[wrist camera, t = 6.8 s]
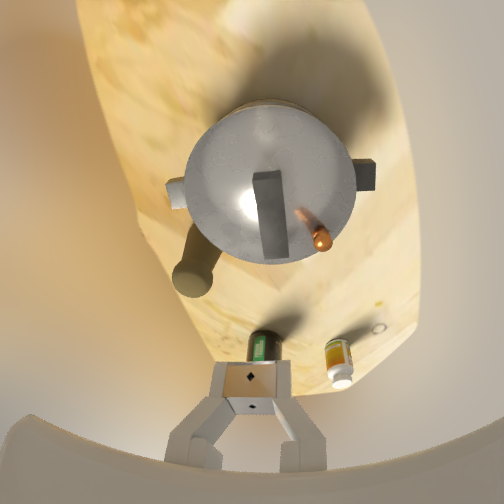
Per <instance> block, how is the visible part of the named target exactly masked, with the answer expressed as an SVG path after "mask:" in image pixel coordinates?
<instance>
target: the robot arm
mask: <svg viewBox="0 0 504 504" xmlns="http://www.w3.org/2000/svg"><path fill="white" fill-rule="evenodd" d="M254 414H255V415H257V414H258V415H276V416H277V418H278V419H279V421H280V423H281V424H282V426H283V427H284V429H285V431H286V432H287V434H288V435H289V437H290V438H291V440H292V441H287V442H284V443H282V444H281V457H280V473H253V472H235V471H223V470H221V469H222V459H223V455H222V454H221V452H219V451H218V450H217V449H216V448H215V447H214V446H213V445H214V443H215V442H216V441H217V440H218V438H219V437H220V436H221V435H222V433H223V432H224V431H225V429H226V428H227V427H228V425H229V424H230V423H231V421H232V420H233V419H234V417H235V416H236V415H254ZM0 504H504V417H502V418H500V419H499V420H496V421H495V422H493V423H491V424H489V425H487V426H484V427H482V428H480V429H478V430H476V431H474V432H471V433H469V434H467V435H464V436H462V437H460V438H457V439H454V440H452V441H449V442H447V443H444V444H441V445H438V446H436V447H432V448H429V449H426V450H423V451H420V452H416V453H413V454H409V455H406V456H402V457H398V458H394V459H390V460H385V461H381V462H376V463H371V464H366V465H361V466H355V467H347V468H340V469H332V470H327V460H326V438H325V437H324V435H323V434H322V433H321V432H320V430H319V429H318V428H317V426H316V425H315V424H314V423H313V421H312V420H311V419H310V417H309V416H308V415H307V413H306V412H305V411H304V409H303V408H302V407H301V405H300V404H299V403H298V401H297V400H296V399H295V397H292V375H291V361H290V360H278V361H277V360H274V361H255V362H216V363H215V365H214V370H213V376H212V381H211V387H210V393H209V397H205V398H204V399H203V400H202V401H201V402H200V403H199V404H198V405H197V406H196V407H195V408H194V409H193V410H192V411H191V413H189V414H188V415H187V416H186V418H185V419H184V420H183V421H182V422H181V423H180V424H179V425H178V426H177V427H176V428H175V429H174V430H173V431H172V432H171V433H170V436H169V440H168V445H167V449H166V454H165V459H164V462H163V461H159V460H155V459H150V458H146V457H142V456H138V455H134V454H131V453H127V452H124V451H121V450H117V449H114V448H111V447H108V446H105V445H102V444H99V443H96V442H93V441H91V440H88V439H86V438H83V437H80V436H78V435H75V434H73V433H71V432H68V431H66V430H64V429H62V428H59V427H57V426H55V425H53V424H51V423H48V422H47V421H45V420H43V419H41V418H39V417H37V416H35V415H32V414H29V415H27V416H25V417H23V418H22V419H20V420H19V421H18V422H16V423H15V424H14V425H13V426H12V427H11V428H10V430H9V431H8V433H7V435H6V437H5V440H4V442H3V445H2V447H1V450H0Z"/></svg>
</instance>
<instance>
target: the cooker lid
mask: <svg viewBox="0 0 504 504" xmlns="http://www.w3.org/2000/svg"><path fill="white" fill-rule="evenodd" d="M356 188H357V187H356V175H355V170H354V166H353V163H352V160H351V158H350V155H349V153H348V152H347V150H346V148H345V146H344V145H343V143H342V142H341V141H340V139H339V138H338V137H337V136H336V135H335V134H334V133H333V132H332V131H331V130H330V129H329V128H328V127H327V126H326V125H325V124H323V123H322V122H321V121H319V120H318V119H317V118H315V117H313V116H311V115H310V114H308V113H306V112H303V111H300V110H298V109H295V108H291V107H287V106H281V105H258V106H253V107H247V108H244V109H241V110H238V111H236V112H234V113H232V114H230V115H228V116H226V117H224V118H223V119H221V120H220V121H218V122H217V123H216V124H214V125H213V126H212V127H211V128H210V129H209V130H208V131H207V132H206V133H205V134H204V135H203V136H202V137H201V138H200V140H199V141H198V142H197V144H196V145H195V147H194V149H193V151H192V152H191V154H190V157H189V160H188V162H187V166H186V170H185V176H184V194H185V199H186V204H187V207H188V210H189V213H190V215H191V217H192V219H193V221H194V223H195V224H196V226H197V227H198V229H199V230H200V231H201V233H202V234H203V235H204V236H205V237H206V238H207V239H208V240H209V241H210V242H211V243H212V244H213V245H215V246H216V247H218V248H219V249H220V250H222V251H224V252H226V253H227V254H229V255H231V256H234V257H236V258H238V259H241V260H245V261H248V262H252V263H258V264H284V263H290V262H294V261H298V260H301V259H304V258H307V257H309V256H311V255H313V254H315V253H317V252H319V251H320V252H325V251H328V250H329V249H330V248H331V247H332V244H333V242H332V241H333V240H334V239H335V238H336V237H337V236H338V235H339V234H340V232H341V231H342V229H343V228H344V227H345V225H346V223H347V221H348V220H349V218H350V215H351V213H352V210H353V207H354V203H355V199H356Z"/></svg>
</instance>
